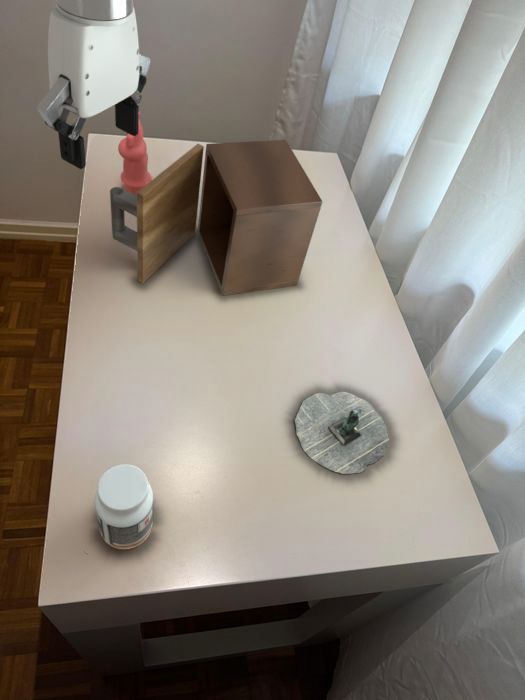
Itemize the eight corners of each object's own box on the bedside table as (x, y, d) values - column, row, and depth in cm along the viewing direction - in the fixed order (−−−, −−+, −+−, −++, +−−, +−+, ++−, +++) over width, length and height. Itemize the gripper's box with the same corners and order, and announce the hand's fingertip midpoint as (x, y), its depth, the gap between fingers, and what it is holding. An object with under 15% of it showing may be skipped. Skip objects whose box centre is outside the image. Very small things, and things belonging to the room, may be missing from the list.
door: (103, 262, 84) (97, 172, 72) (159, 214, 92) (162, 126, 80) (142, 283, 83) (143, 195, 71) (195, 233, 91) (203, 146, 79)
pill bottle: (162, 513, 63) (165, 474, 55) (134, 560, 60) (133, 526, 52) (117, 490, 64) (114, 448, 56) (87, 535, 60) (79, 498, 53)
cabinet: (222, 295, 84) (236, 209, 72) (197, 232, 92) (206, 143, 79) (297, 285, 88) (322, 201, 76) (267, 224, 96) (285, 139, 83)
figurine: (120, 182, 96) (117, 98, 84) (151, 185, 97) (153, 101, 85) (119, 202, 93) (116, 117, 81) (151, 204, 94) (152, 120, 82)
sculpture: (395, 414, 77) (405, 423, 69) (365, 475, 77) (372, 490, 69) (314, 375, 78) (315, 379, 70) (285, 435, 78) (282, 446, 70)
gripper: (120, -38, 63) (122, 108, 76) (-2, 1, 52) (24, 163, 66) (176, -13, 61) (168, 132, 75) (61, 33, 51) (76, 192, 64)
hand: (101, 146), depth 70 cm, fingers open, 9 cm apart
